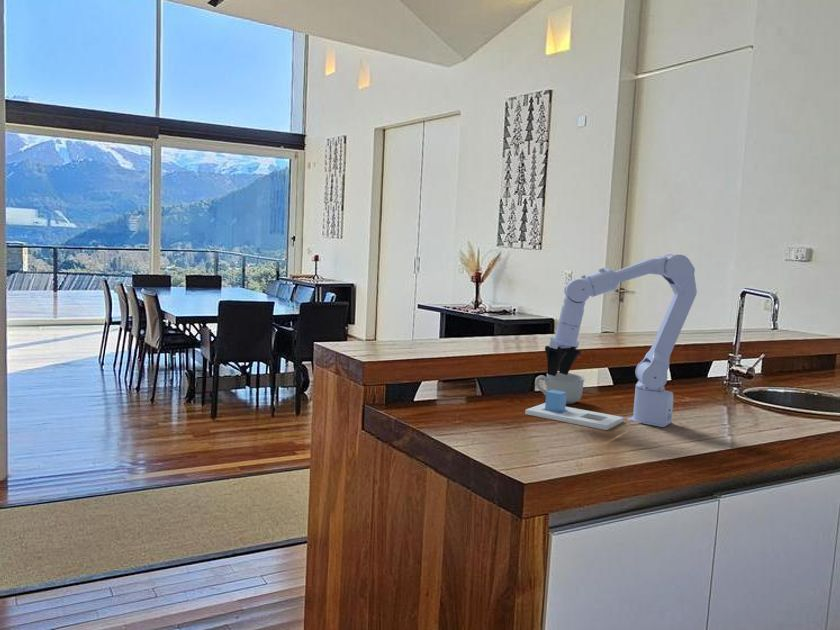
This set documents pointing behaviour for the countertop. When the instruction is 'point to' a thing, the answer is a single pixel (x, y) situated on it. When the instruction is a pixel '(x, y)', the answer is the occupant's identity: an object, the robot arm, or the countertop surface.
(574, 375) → the teacup
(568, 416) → the panel
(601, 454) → the countertop surface
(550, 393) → the plug
